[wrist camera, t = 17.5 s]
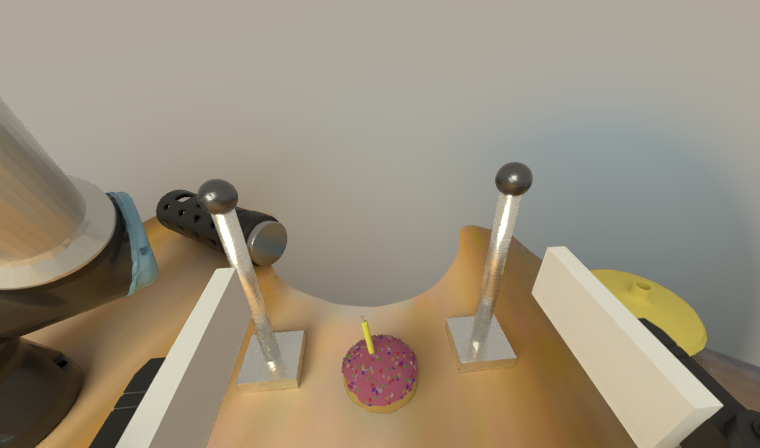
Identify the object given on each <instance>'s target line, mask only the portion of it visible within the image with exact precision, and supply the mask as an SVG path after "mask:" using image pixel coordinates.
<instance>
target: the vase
mask: <svg viewBox="0 0 760 448" xmlns="http://www.w3.org/2000/svg"><path fill="white" fill-rule="evenodd" d="M590 272H591V273H592V274H593V275H594V276H595V277H596V278H597V279H598V280H599V281H600V282H601V283H602V284H603V285H604V286H605V287H606V288H607V289H608V290H609V291H610V292H611V293H612V294H613V295H614V296H615V297H616V298H617V299H618V300H619V301H620V302H621V303H622V304H623V305H624V306H625V307H626V308H627V309H628V310H629V311H630V312H631V313H632V314H633V315H634V316H635V317H636V318H645V319H647V320H648V321H650V322H651V323H653V324H655V325H656V326H658V327H659V328H661V329H662V330H663V331H664V332H666V333H667V334H668V335H669V336H670V337H671V338H672V339H673V340H674V341H675V342H676V343H677V346H680V347H681V348H682V349H683V350H684V351H685V352H686V353H687V354H689V357H690V356H692V355H695V354H696V353H698V352H699V351H701V350H702V349H704V347H705V344H706V342H707V335H706V330H705V327H704V325H703V323H702V321H701V320H700V318H699V317H698V315H697V314H696V312H695V311H694V310H693V309H692V308H691V307H690V306H689V305H688V304H687V303H686V302H685V301H684V300H682V299H681V298H680V297H678V296H677V295H676V294H674V293H673V292H671V291H670V290H668V289H666V288H664V287H663V286H661V285H659V284H657V283H654V282H652V281H650V280H648V279H645V278H643V277H640V276H637V275H634V274H630V273H627V272H622V271H616V270H605V269H597V270H590Z"/></svg>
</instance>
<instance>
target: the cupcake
mask: <svg viewBox="0 0 760 448" xmlns="http://www.w3.org/2000/svg"><path fill="white" fill-rule="evenodd" d="M361 318H362V322H361V324H362V328H363V332H364V336H365V339H364V340H360V341H358V343H357V344H356V345H353V346H354V347H351V349H349V351H348V352H347V353H348V354H346V357H345V358H343V365H342V373H343V374H344V385H345V388H346V390H347V393H348V395H349V397H350V399H351V400H352V401H353V402H355V403H356V404H357V405H359V406H361V407H362V408H364V409H365V410H367V411H368V412H372V413H393V412H395V411H396V410H398V409H399V408H401V407H403V406H404V405H406V404H407V403H408V402H409V401H410V400H411V398H412V397H413V395H414V393H415V390H416V387H417V382H418V373H419V366H418V361H417V358H416V356H415V354H414V353H413V351H412V349H411V348H409V346H408V345H406V344H405V343H403V342H402V341H400V340H401V339H400V340H399V339H396V338H393V337H391V336H390V335H389V336H388V335H379V336H375V335H374V336H371V334H370V330H369V326H368V322H367V321H366V320H364V317H363V316H361Z"/></svg>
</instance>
